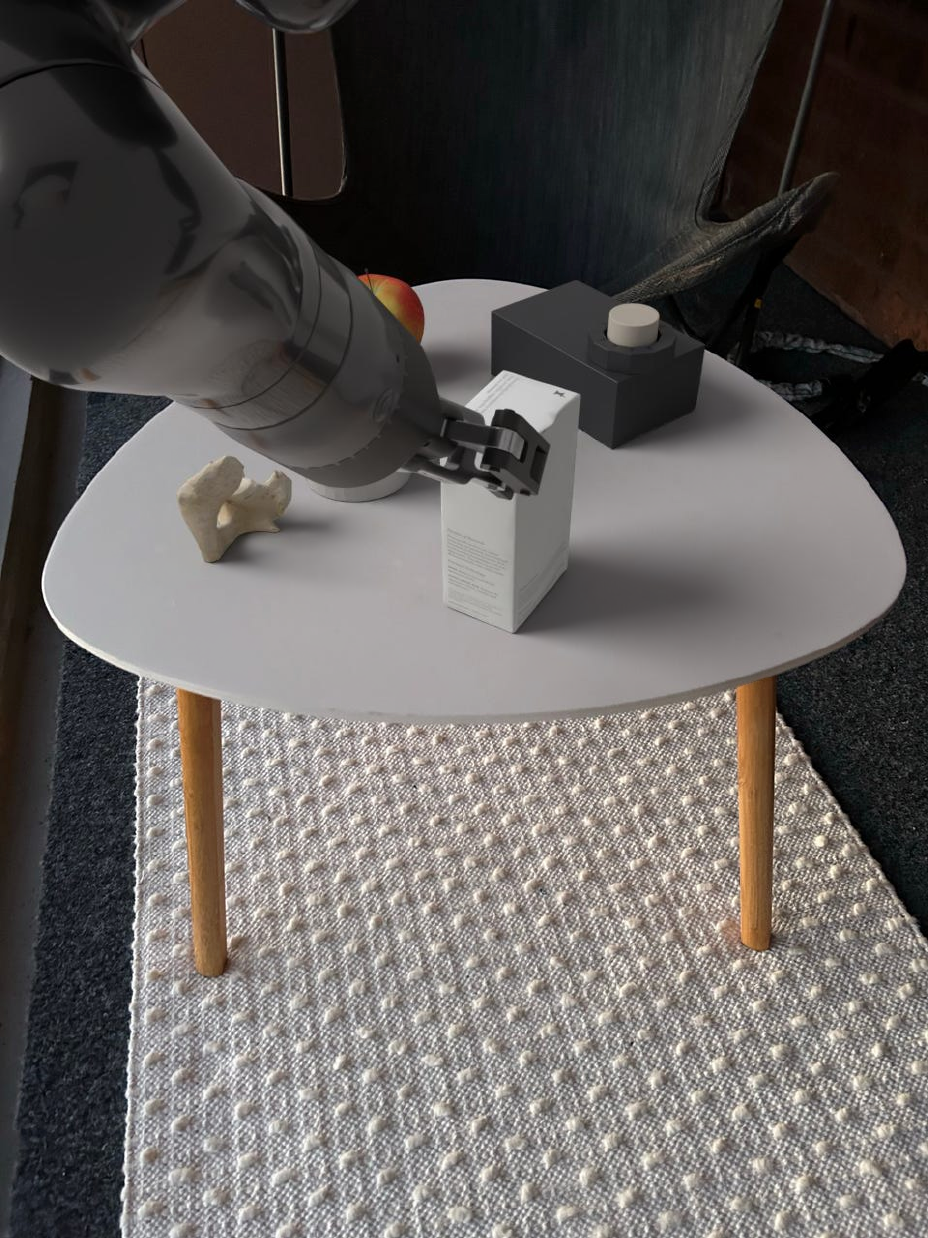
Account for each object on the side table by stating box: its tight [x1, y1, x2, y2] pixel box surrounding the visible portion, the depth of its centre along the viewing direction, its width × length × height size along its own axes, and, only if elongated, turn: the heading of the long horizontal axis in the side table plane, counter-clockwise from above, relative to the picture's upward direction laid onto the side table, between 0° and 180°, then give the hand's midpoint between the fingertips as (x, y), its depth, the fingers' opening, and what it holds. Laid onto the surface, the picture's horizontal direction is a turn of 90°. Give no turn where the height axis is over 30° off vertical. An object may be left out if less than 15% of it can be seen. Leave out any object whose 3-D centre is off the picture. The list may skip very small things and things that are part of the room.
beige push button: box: [607, 303, 660, 347], centre depth 87 cm, size 4×4×2 cm
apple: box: [357, 268, 426, 346], centre depth 96 cm, size 8×8×10 cm
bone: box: [176, 454, 293, 563], centre depth 79 cm, size 9×6×10 cm
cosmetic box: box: [439, 371, 580, 634], centre depth 71 cm, size 8×6×15 cm
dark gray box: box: [490, 279, 706, 450], centre depth 94 cm, size 17×10×8 cm, turn 37°
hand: (434, 463), depth 57 cm, fingers open, 8 cm apart
